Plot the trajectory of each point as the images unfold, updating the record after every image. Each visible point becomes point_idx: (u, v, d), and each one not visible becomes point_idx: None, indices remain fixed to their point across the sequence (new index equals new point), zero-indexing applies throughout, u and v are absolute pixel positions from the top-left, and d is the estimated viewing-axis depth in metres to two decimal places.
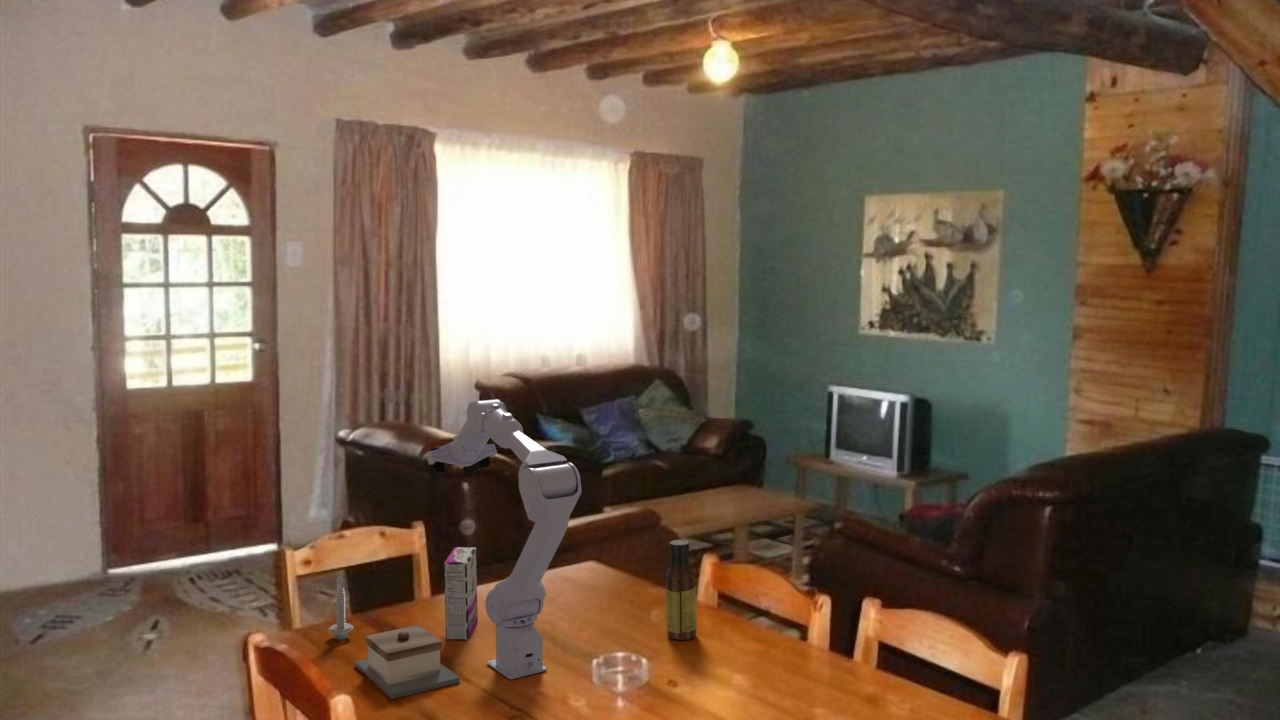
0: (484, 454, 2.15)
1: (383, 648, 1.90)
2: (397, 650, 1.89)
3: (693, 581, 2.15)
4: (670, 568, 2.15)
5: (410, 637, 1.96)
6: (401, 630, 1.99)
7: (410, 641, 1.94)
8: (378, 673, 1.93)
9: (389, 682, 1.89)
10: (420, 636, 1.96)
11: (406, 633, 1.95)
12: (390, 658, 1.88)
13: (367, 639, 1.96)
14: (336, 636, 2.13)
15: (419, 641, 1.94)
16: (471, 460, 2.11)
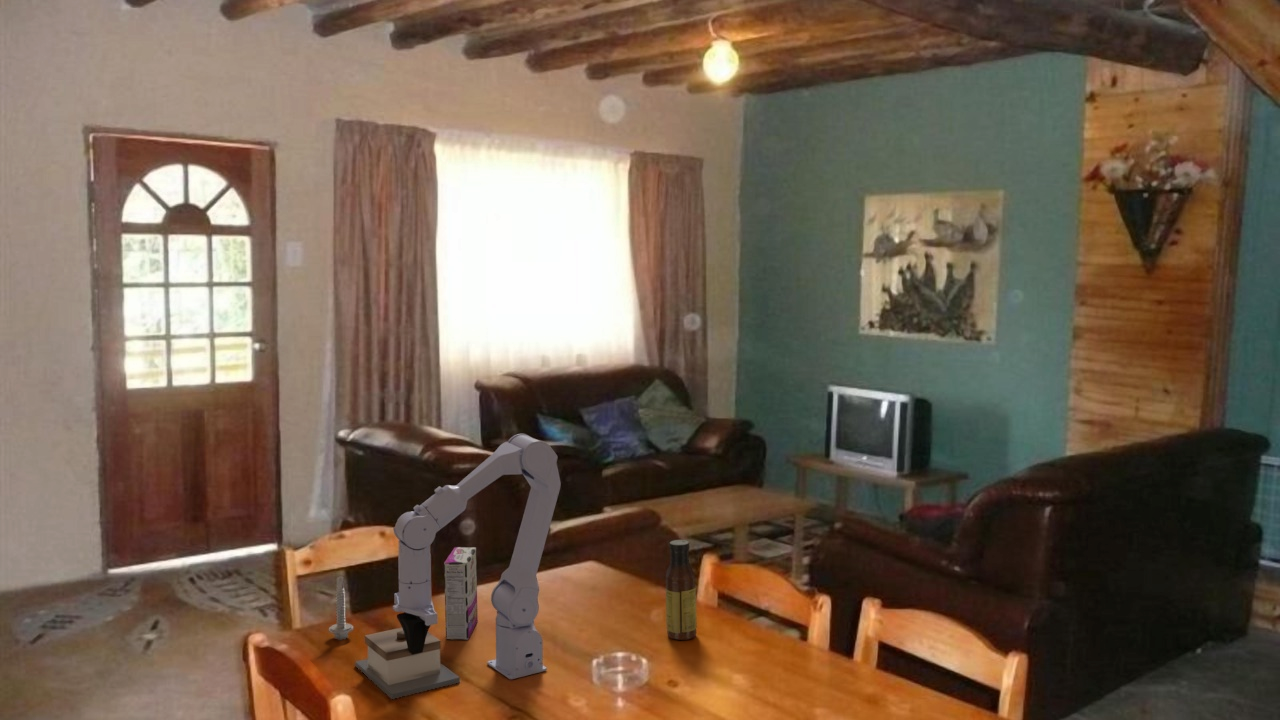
0: None
1: (382, 647, 1.91)
2: (396, 649, 1.90)
3: (693, 581, 2.15)
4: (670, 568, 2.15)
5: None
6: (400, 629, 2.00)
7: None
8: (378, 673, 1.93)
9: (389, 682, 1.89)
10: None
11: None
12: (389, 657, 1.89)
13: (366, 638, 1.96)
14: (336, 636, 2.13)
15: None
16: None
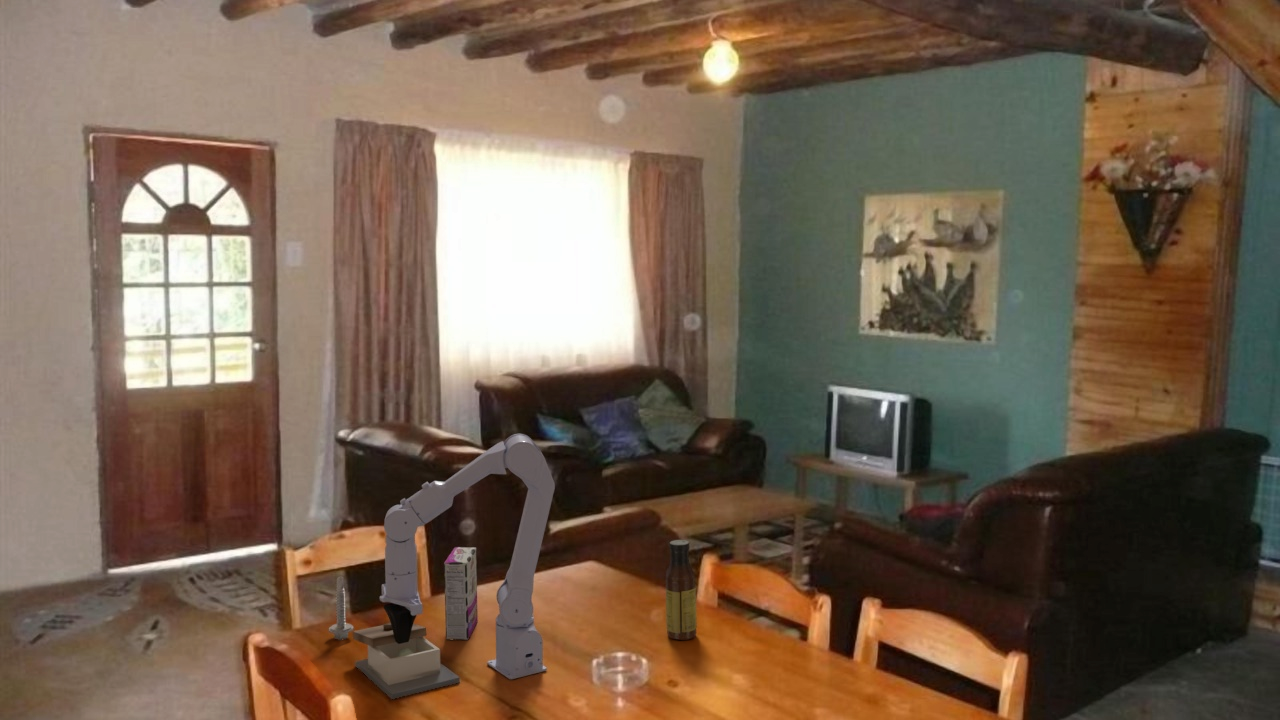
0: None
1: (369, 636, 1.96)
2: (382, 636, 1.95)
3: (693, 581, 2.15)
4: (670, 568, 2.15)
5: None
6: None
7: None
8: (378, 673, 1.93)
9: (389, 682, 1.89)
10: None
11: None
12: (375, 643, 1.94)
13: (354, 634, 2.01)
14: (336, 636, 2.13)
15: None
16: None
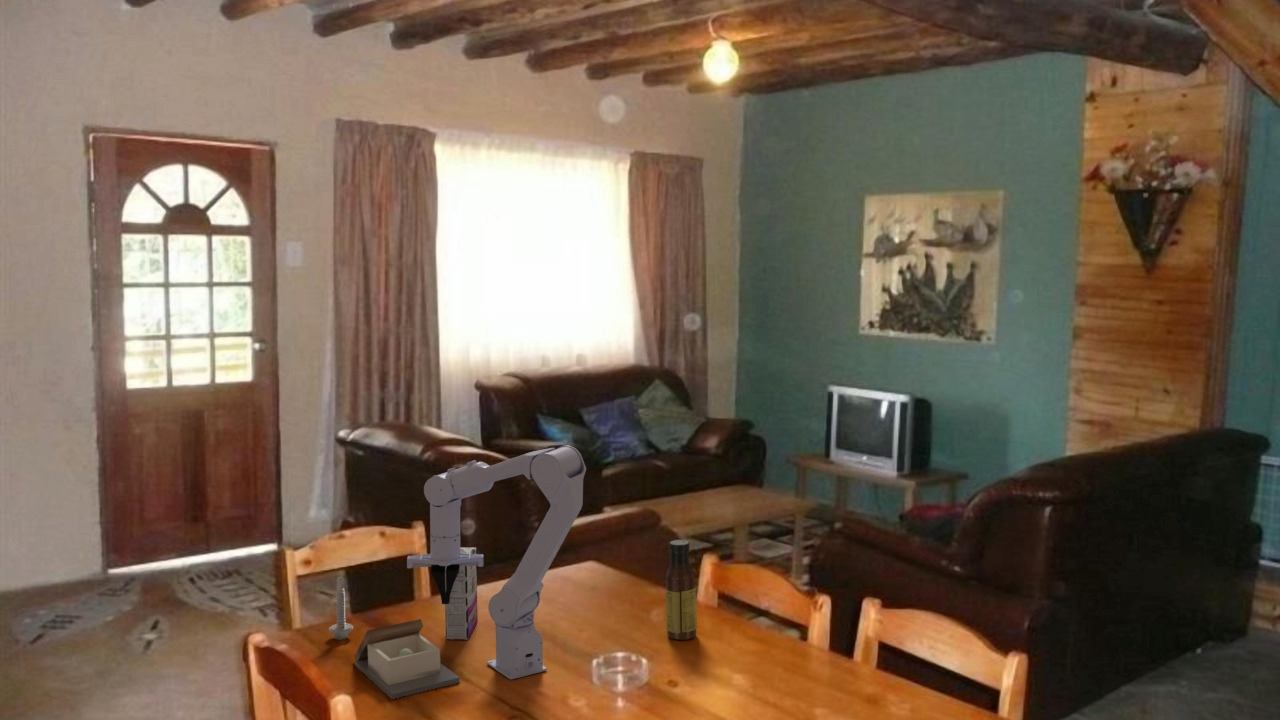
0: (422, 556, 2.05)
1: None
2: None
3: (693, 581, 2.15)
4: (670, 568, 2.15)
5: None
6: None
7: None
8: (378, 673, 1.93)
9: (389, 682, 1.89)
10: None
11: None
12: (371, 634, 1.95)
13: (356, 655, 2.01)
14: (336, 636, 2.13)
15: None
16: None
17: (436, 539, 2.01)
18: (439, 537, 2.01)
